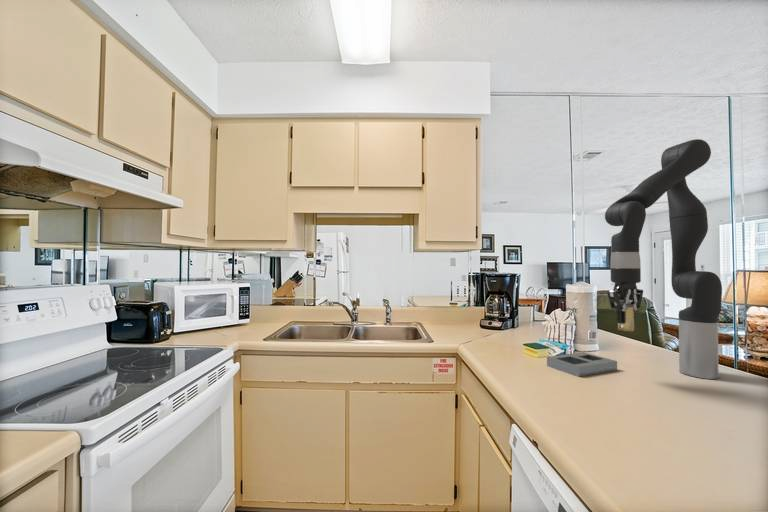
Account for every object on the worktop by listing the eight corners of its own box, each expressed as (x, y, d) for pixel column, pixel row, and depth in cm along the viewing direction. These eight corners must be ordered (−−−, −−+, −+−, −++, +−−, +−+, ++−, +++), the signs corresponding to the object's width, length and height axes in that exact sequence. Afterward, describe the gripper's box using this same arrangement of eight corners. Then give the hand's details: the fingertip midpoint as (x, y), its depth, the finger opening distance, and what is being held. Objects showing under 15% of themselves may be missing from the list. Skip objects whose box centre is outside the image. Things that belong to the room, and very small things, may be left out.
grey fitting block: (583, 360, 122) (583, 352, 122) (617, 370, 110) (617, 361, 111) (546, 365, 115) (546, 357, 115) (579, 376, 104) (579, 367, 104)
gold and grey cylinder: (623, 328, 105) (623, 302, 105) (637, 330, 101) (636, 304, 102) (615, 329, 104) (614, 303, 104) (628, 331, 100) (628, 305, 100)
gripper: (627, 266, 109) (627, 319, 109) (597, 266, 104) (598, 322, 103) (653, 267, 102) (653, 323, 102) (623, 267, 97) (623, 326, 96)
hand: (625, 322), depth 103 cm, fingers closed on gold and grey cylinder, 4 cm apart
